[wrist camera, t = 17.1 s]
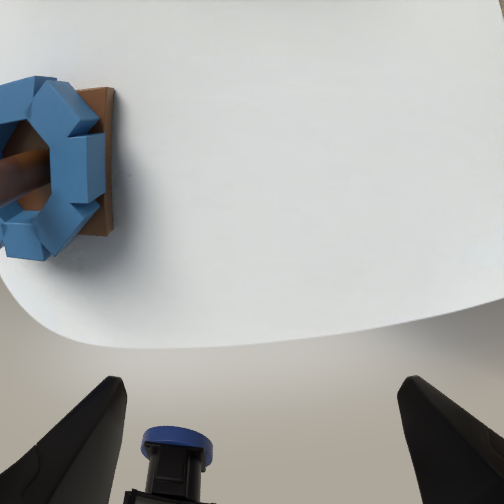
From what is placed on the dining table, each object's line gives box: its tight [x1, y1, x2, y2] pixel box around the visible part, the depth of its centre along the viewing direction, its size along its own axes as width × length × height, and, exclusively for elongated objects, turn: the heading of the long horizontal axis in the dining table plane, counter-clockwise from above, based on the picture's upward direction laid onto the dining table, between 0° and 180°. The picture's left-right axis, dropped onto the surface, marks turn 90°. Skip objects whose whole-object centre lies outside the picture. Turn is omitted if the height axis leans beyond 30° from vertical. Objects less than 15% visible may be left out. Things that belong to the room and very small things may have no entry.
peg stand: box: [0, 87, 114, 236], centre depth 12 cm, size 9×9×8 cm
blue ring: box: [0, 76, 105, 261], centre depth 14 cm, size 11×11×2 cm
